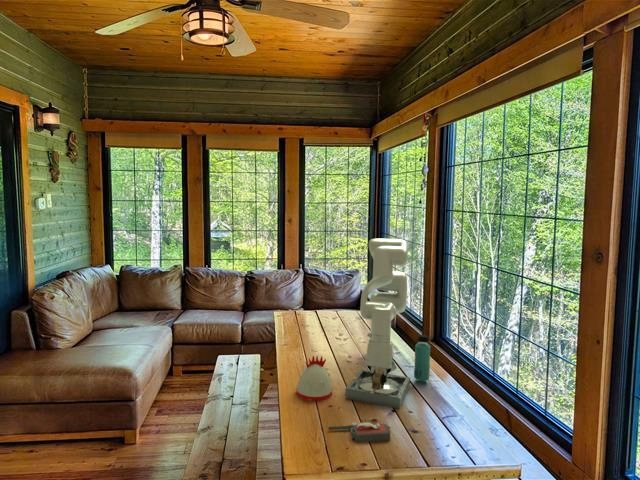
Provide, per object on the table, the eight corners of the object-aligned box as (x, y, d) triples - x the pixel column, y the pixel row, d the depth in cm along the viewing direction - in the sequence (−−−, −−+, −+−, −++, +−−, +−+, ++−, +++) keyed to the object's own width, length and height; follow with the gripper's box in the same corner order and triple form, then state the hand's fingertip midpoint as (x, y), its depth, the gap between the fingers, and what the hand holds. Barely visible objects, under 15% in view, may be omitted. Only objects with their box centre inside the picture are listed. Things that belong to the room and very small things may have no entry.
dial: (364, 376, 185) (365, 362, 184) (402, 382, 179) (403, 368, 178) (353, 391, 170) (353, 376, 169) (394, 398, 164) (395, 383, 164)
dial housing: (360, 378, 188) (360, 368, 188) (409, 387, 180) (410, 377, 180) (345, 398, 169) (345, 387, 168) (399, 408, 161) (400, 397, 161)
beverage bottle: (430, 380, 188) (432, 334, 187) (428, 386, 182) (430, 338, 180) (414, 377, 190) (416, 332, 189) (412, 383, 184) (414, 336, 182)
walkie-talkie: (386, 427, 148) (327, 430, 145) (387, 415, 148) (328, 417, 145) (394, 441, 139) (331, 444, 137) (394, 428, 139) (332, 431, 136)
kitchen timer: (335, 400, 167) (336, 361, 166) (299, 402, 165) (299, 363, 163) (328, 385, 181) (329, 349, 179) (295, 386, 178) (295, 350, 177)
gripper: (357, 337, 172) (356, 383, 174) (399, 343, 166) (397, 390, 168) (363, 332, 179) (361, 376, 181) (403, 337, 173) (401, 383, 175)
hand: (379, 382), depth 174 cm, fingers closed on dial, 3 cm apart
